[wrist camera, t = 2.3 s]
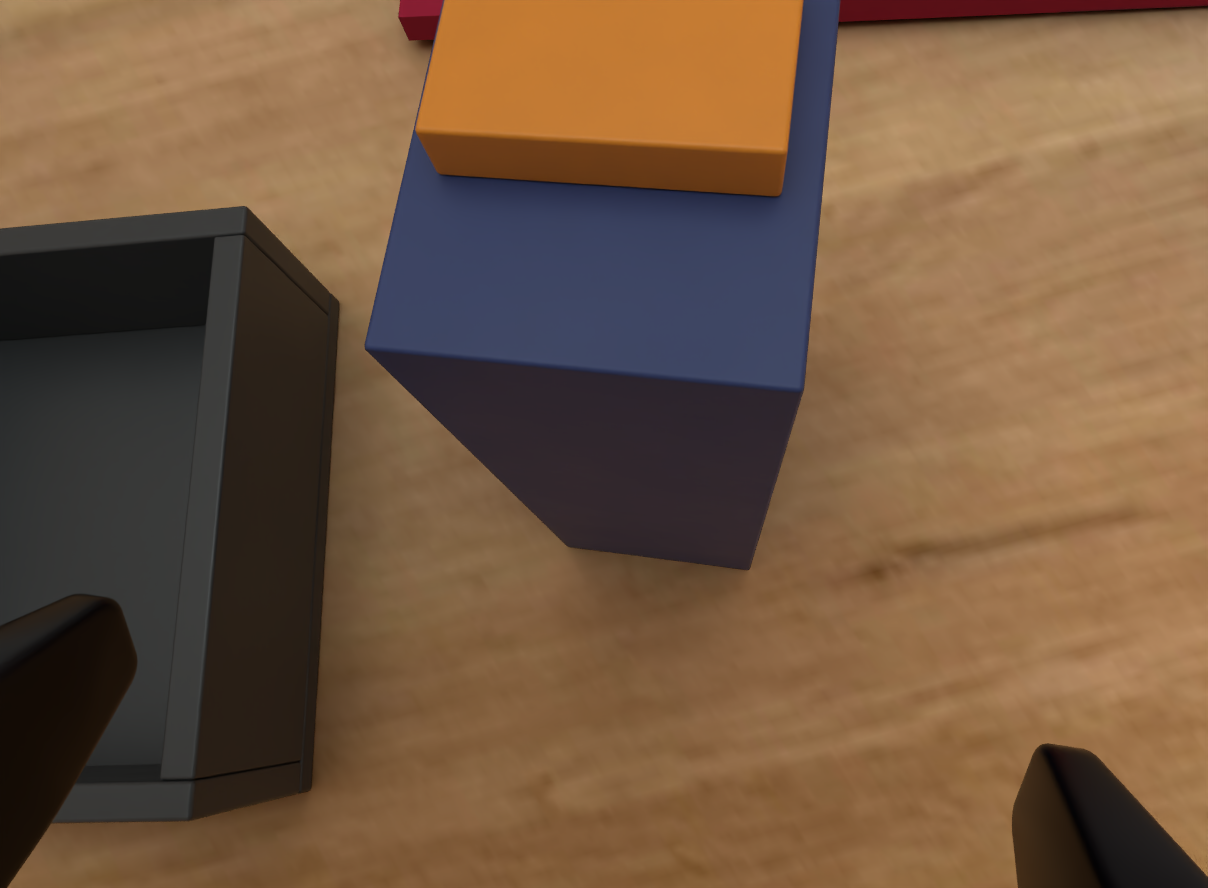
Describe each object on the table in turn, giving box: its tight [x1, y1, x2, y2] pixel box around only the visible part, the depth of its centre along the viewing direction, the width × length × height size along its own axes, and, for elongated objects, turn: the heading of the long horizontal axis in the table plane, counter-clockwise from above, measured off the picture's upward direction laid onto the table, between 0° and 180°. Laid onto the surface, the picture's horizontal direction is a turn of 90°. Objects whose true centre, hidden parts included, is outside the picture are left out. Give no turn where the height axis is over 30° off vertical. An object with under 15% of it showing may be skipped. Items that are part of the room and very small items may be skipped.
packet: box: [365, 0, 841, 570], centre depth 15 cm, size 6×4×14 cm
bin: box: [0, 206, 339, 823], centre depth 20 cm, size 12×12×5 cm
